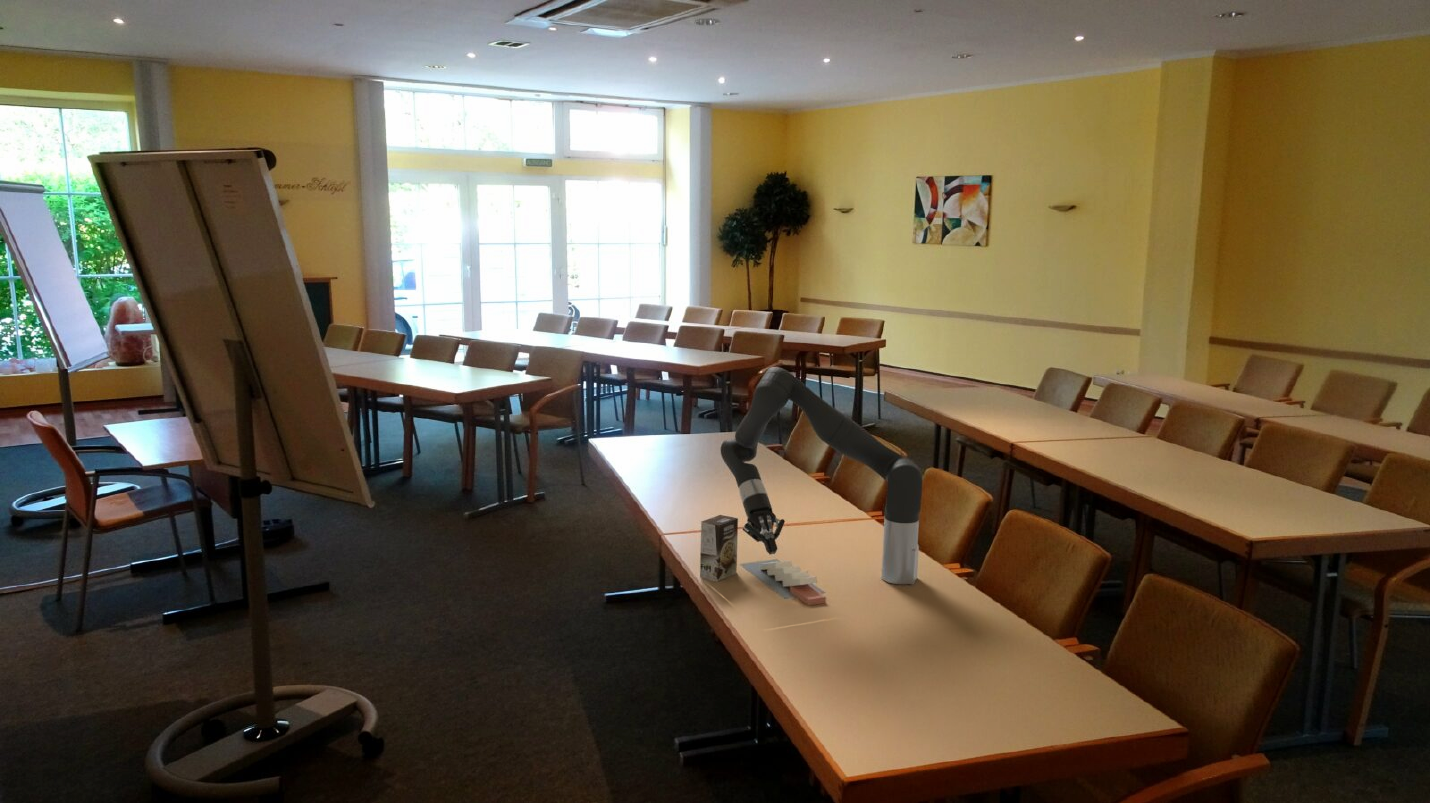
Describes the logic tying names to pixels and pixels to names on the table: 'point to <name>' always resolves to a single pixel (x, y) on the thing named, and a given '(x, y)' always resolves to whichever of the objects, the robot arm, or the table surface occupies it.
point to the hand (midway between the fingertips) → (773, 552)
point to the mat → (772, 579)
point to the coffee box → (718, 547)
